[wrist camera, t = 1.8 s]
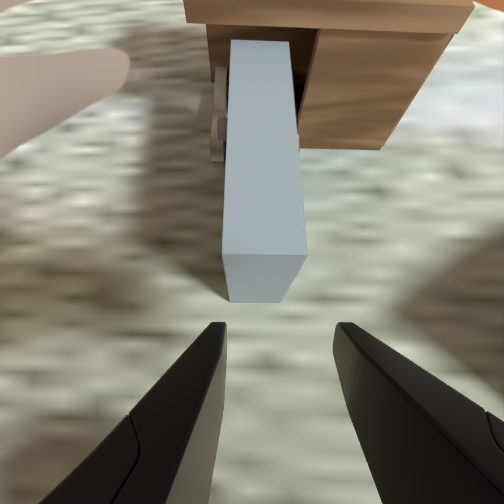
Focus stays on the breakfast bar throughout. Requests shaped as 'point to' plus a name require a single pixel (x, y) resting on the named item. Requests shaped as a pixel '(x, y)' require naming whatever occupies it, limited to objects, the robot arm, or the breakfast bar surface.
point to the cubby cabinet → (336, 59)
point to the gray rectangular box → (261, 175)
